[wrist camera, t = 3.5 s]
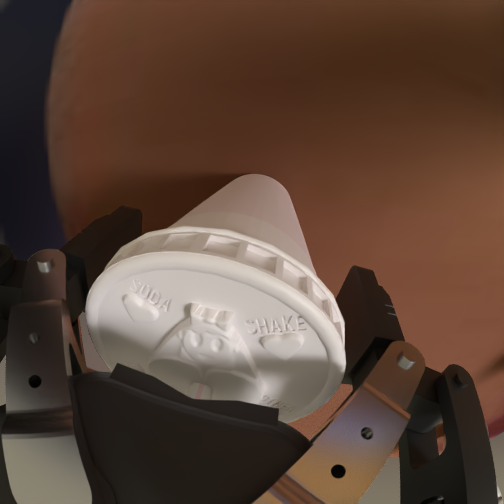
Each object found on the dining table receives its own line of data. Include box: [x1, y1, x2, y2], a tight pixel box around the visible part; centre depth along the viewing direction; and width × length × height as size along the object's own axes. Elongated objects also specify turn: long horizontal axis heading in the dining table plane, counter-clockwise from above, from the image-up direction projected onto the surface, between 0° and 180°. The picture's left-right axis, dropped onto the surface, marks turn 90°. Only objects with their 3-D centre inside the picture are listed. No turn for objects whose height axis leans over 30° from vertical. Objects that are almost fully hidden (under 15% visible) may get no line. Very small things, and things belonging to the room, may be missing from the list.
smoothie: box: [86, 174, 346, 423], centre depth 8 cm, size 6×6×14 cm
